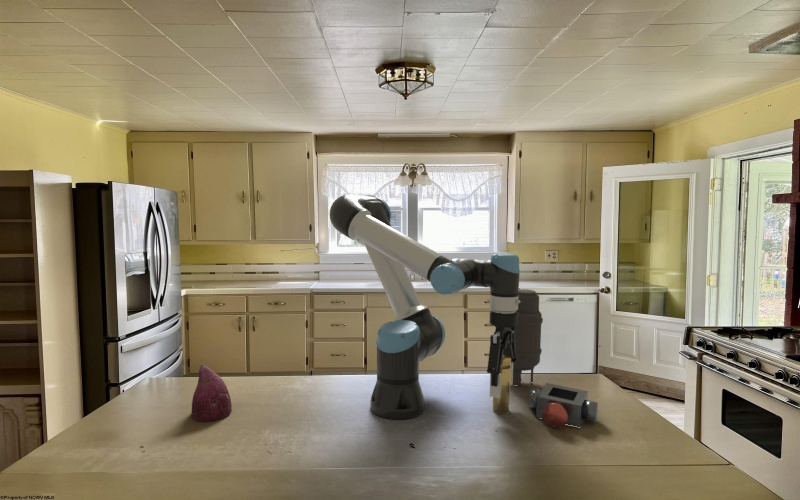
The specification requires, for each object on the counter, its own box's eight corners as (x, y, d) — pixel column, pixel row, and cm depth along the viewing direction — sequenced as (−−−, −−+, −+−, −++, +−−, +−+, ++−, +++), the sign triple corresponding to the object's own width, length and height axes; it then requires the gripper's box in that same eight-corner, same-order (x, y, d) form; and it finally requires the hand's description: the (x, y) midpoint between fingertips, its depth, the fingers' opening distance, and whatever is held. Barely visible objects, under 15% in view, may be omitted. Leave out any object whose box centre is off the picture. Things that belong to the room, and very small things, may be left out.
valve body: (520, 420, 116) (521, 396, 116) (535, 400, 129) (536, 379, 128) (590, 438, 108) (591, 412, 107) (599, 415, 120) (600, 391, 120)
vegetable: (185, 429, 117) (167, 376, 115) (215, 408, 126) (198, 359, 124) (214, 427, 112) (195, 372, 111) (242, 406, 122) (225, 355, 120)
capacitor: (533, 394, 134) (536, 296, 131) (490, 384, 141) (493, 291, 139) (545, 380, 145) (548, 289, 143) (505, 371, 152) (508, 285, 150)
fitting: (490, 411, 122) (491, 358, 121) (495, 405, 126) (497, 353, 124) (506, 415, 119) (508, 361, 118) (511, 409, 123) (513, 356, 122)
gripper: (504, 320, 109) (501, 408, 111) (529, 305, 128) (526, 380, 130) (475, 316, 113) (473, 401, 114) (503, 302, 132) (501, 375, 133)
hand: (501, 390), depth 122 cm, fingers open, 10 cm apart
